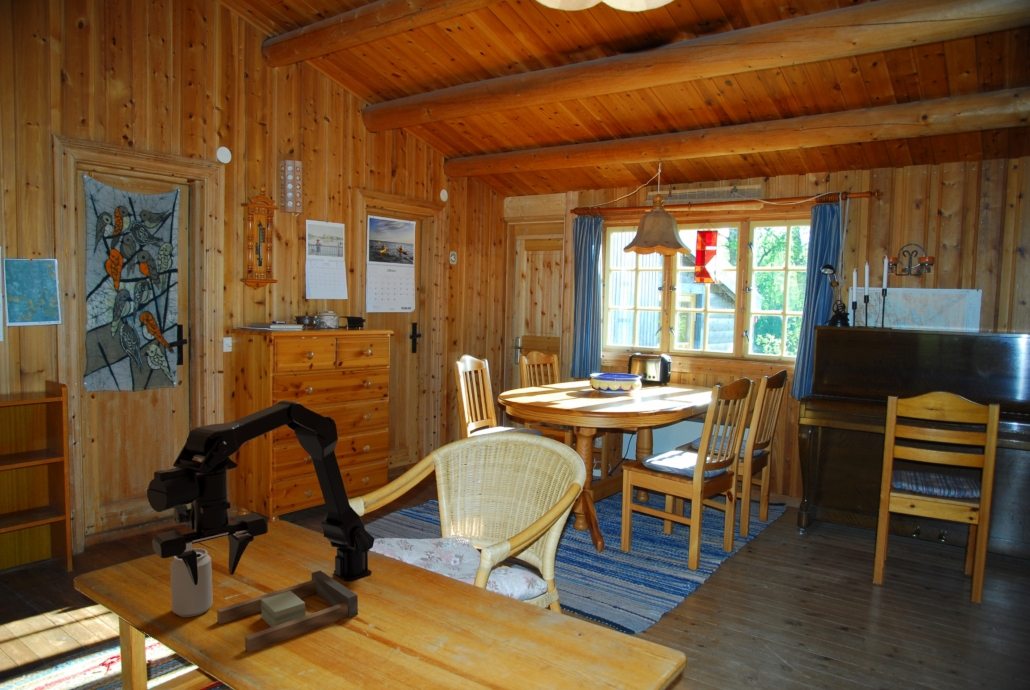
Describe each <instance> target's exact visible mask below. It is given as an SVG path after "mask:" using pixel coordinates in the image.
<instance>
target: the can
mask: <svg viewBox="0 0 1030 690" xmlns="http://www.w3.org/2000/svg"><path fill="white" fill-rule="evenodd" d="M192 549H193V550H194V551H195V552H196V554H197V569H198V583H197V585H194V584H193V582H192V579H191V577H190V575H189V572H188V570H187V568H186V565H185V563H184V562H183V560H182V559H178V558H177V557H176V556H173V560H171V562H170V563H169V569H170V591H171V611H172V612H173V613H174V614H175V615H177V616H179V617H182V618H190V617H191V618H192V617H196V616H200V615H202V614H204V613H206V612H207V611H208V610H209V609H210V608H211V607H212V606H213V602H214V601H213V600H214V599H213V575H212V574H213V572H212V558H211V556H210V555H209V554H208V551H207V550H206V549H205V548H199V547H198V548H197V547H194V548H193V547H192Z"/></svg>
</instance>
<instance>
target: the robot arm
mask: <svg viewBox="0 0 1030 690" xmlns="http://www.w3.org/2000/svg"><path fill="white" fill-rule="evenodd" d="M283 426H286V427H287V428H289V430H290V429H291V430H292V431H293V432H294V434H295V437H296V438H297V440H298V442H299V445H300V446H301V448H303V450H304V451H305V452H307V454H308V455H309V456H310V458H311V460H312V464H313V468H314V471H315V474H316V478H317V481H318V484H319V488H320V490H321V494H322V498H323V500H324V504H325V508H326V511H327V514H326V517H325V518H324V520H322V521H321V522H320V526H321V528H322V530H323V538H326V539H327V540H328V541H329V543H330V546H331V547H332V548H336V555H335V556H334V570H333V574H335V575H336V576H338V577H339V578H341V579H343V580H345V582H349V581H352V580H357V579H359V578H362V577H365V576H368V575H371V574H372V573H373V571H372V570H371V569H369V566H368V565H369V555H368V554H369V552H370V550H371V549H372V548H374V542H375V537H373V536H372V534H370V533H369V532H368V531H367V530H366V528H365V525H364V522H363V520H362V518H361V516H360V515H359V514H358V513H357V512H356V511H355V510H354V508H353V507H352V506H351V504H350V501H349V497H348V493H347V491H346V487H345V484H344V483H345V482H344V480H343V477H342V473H341V469H340V466H339V463H338V459H337V455H336V452H335V450H336V447H337V443H338V441H339V437H338V430H337V423H336V421H335V420H334V418H332V417H330V416H327V415H326V416H325V415H322V414H319V413H318V412H315V411H313V410H312V409H308V408H307V407H305V406H304V405H302V404H301V403H299V402H297V401H293V400H292V401H290V400H286V399H285V400H281V401H278V402H276V404H273V405H271V406H269V407H266V408H262V409H260V410H258V411H255V412H253V413H250V414H248V415H245V416H243V417H240V418H239V419H236V420H234V421H230V422H224V423H213V424H212V423H211V424H207V425H202V426H198V427H195V428H193V429H192V430H191V431H190V432H189V433H188V436H187V438H186V441H185V444H184V445H183V447H182V449H181V450H180V452H179V454H178V456H177V457H176V459H175V461H174V462H173V464H172V465H173V466H172V467H173V468H169V469H162V470H160V469H159V470H156V471H154V472H153V479H152V480H150V482H149V483H148V487H147V489H146V495H147V501H148V503H149V506H150V507H151V508H152V509H153V511H155V512H157V513H163V512H166V511H168V510H172V509H173V515H174V516H173V518H174V523H175V525H180V524H181V525H182V524H184V523H185V527H186V528H189V529H190V530H192V532H189V533H185V534H182V533H181V532H179V531H178V530H177V529H173V530H170V531H164V532H161V533H160V532H159V533H156V534H155V535H154V537H153V538H152V541H151V543H152V550H153V551H154V552H155V554H156V555H158V556H159V558H161V559H169V558H172V557H174V556H176V557H177V558H178V559H182V560H183V562H184V563H185V565H186V568H187V570H188V572H189V575H190V577H191V579H192V582H193V584H194V585H197V583H198V569H197V554H196V552H195V551H194V550H193V545H194V544H197V543H200V542H201V543H202V542H206V541H210V540H215V539H218V538H221V537H226V536H227V538H228V573H229V575H230V576H234V574H235V572H236V570H237V568H238V565H239V563H240V560H241V559H242V556H243V554H244V553H245V550H246V549H247V547H248V545H249V544H250V542H254V540H255V537H259V536H261V535H266V534H267V533H268V532H269V531H268V530H269V525H268V521H267V519H266V518H264V517H263V516H261V515H260V514H258V513H256V512H250V513H246V514H241V515H237V517H236V518H235V522H233V523H230V520H229V518H230V517H229V509H231V502H230V501H229V496H228V495H229V494H228V493H229V492H228V491H229V490H228V471H229V470H233V469H235V468H238V465H239V464H238V463H236V462H235V461H233V460H232V459H231V458H230V457H231V456H233V455H234V454H236V453H237V452H238V451H239V450H240V448H241V447H242V445H244V444H246V443H247V442H249V441H252V440H253V439H256V438H258V437H260V436H261V437H262V436H264V435H265V434H267V433H269V432H272V431H275V430H277V429H280V428H281V427H283ZM195 459H198V460H195ZM199 460H202V461H199ZM189 504H191V508H188V505H189ZM193 530H194V532H193Z"/></svg>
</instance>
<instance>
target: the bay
mask: <svg viewBox="0 0 1030 690" xmlns="http://www.w3.org/2000/svg"><path fill="white" fill-rule="evenodd" d="M288 591H291V592H292V593H294V594H295V595H296V596H297V597H299V598H300V599H303V598H306V597H309V596H313V595H315V594H316V595H317V596H319V597H320V598H322V599H323V600H324V601H325V602H327V603H328V604H330V605H331V606H330V607H327V608H324V609H321V610H318V611H315V612H312V613H309V614H305V616H303V617H300V618H297V619H295V620H292V621H289V622H286V623H283V624H280V625H277V626H274V627H271V626H270V627H268V628H266V629H263V630H260V631H257V632H254V633H251V634H248V635H245V636H244V643H245V644H244V645H245V646H244V647H245V651H246V652H247V653H248V654H249V653H252V652H255V651H258V650H261V649H263V648H267V647H269V646H272V645H275V644H278V643H280V642H283V641H285V640H286V641H287V640H288V639H289V640H290V639H291V638H295V637H297V636H299V635H302V634H304V633H307V632H310V631H313V630H316V629H319V628H321V627H325V626H327V625H330V624H333V623H336V622H338V620H339V621H341V620H344V619H347V618H351V616H352V617H353V616H357V615H359V612H358V611H359V608H358V606H359V602H358V600H359V599H358V596H359V595H358V594H357V593H355V592H353V591H352V590H351V589H349V588H348V587H346V585H345V586H344V585H343V584H342V583H340V582H338V581H337V580H335V579H334V578H332V577H331V576H329V575H328V574H326V573H324V572H323V571H322V570H317V571H314V572H311V580H308V581H305V582H301V583H298V584H295V585H292V586H288V587H285V588H282V589H278V590H275V591H272V592H268V593H266V594H262V595H259V596H256V597H253V598H250V599H246V600H243V601H241V602H236V603H233V604H230V605H227V606H224V607H220V608H218V609H217V610H216V613H217V614H216V617H217V623H218V624H219V625H222V624H223V625H224V624H226V623H228V622H232V621H234V620H235V621H236V620H239V619H241V618H244V617H247V616H251V615H253V614H257V613H260V612H261V599H264V598H268V597H271V596H274V595H278V594H281V593H284V592H288Z"/></svg>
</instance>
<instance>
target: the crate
mask: <svg viewBox="0 0 1030 690" xmlns="http://www.w3.org/2000/svg"><path fill="white" fill-rule="evenodd" d="M260 612H261V619H262V620H263V621H265V623H267V625H268V626H269V627H270V628H271V627H274V626H277V625H280V624H283V623H286V622H289V621H292V620H295V619H297V618H300V617H303V616H306V602H305V601H304V600H302V598H299V597H297V596H296V595H295V594H294V593H292V592H291V591H288V592H284V593H281V594H278V595H274V596H271V597H268V598H264V599H261V611H260Z"/></svg>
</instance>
